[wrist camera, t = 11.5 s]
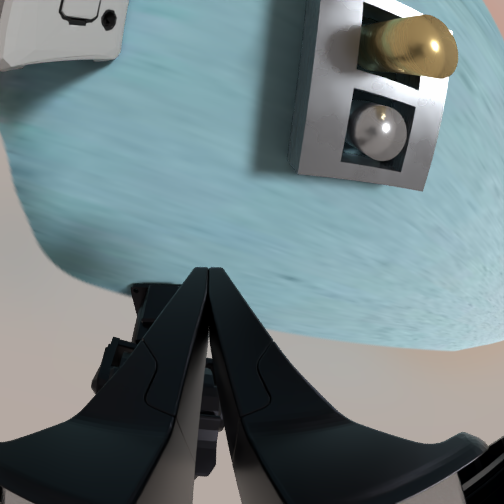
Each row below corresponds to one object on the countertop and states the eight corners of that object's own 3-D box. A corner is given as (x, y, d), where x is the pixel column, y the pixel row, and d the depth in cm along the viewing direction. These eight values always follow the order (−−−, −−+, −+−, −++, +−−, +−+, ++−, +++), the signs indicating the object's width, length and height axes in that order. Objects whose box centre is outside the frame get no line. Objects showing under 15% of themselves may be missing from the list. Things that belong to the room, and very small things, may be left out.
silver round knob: (375, 150, 19) (399, 165, 16) (333, 142, 18) (353, 156, 15) (384, 105, 17) (411, 114, 14) (341, 94, 16) (364, 99, 13)
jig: (402, 176, 20) (422, 191, 18) (286, 160, 19) (297, 174, 16) (427, 32, 13) (452, 31, 10) (307, -13, 11) (322, -25, 9)
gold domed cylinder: (389, 77, 15) (454, 88, 10) (345, 64, 15) (404, 64, 9) (394, 35, 13) (459, 32, 8) (350, 19, 13) (409, 3, 7)
